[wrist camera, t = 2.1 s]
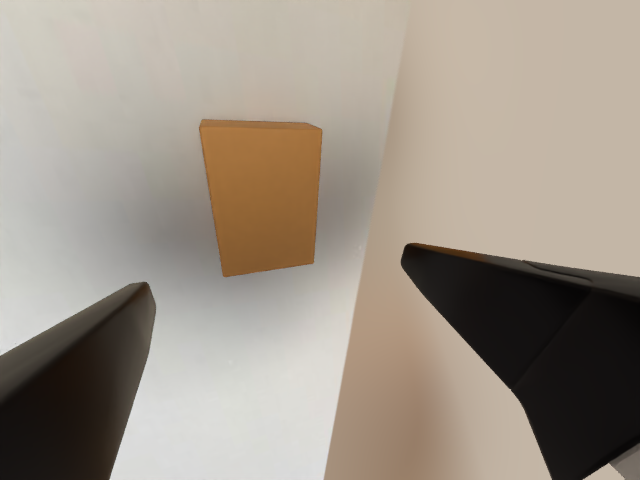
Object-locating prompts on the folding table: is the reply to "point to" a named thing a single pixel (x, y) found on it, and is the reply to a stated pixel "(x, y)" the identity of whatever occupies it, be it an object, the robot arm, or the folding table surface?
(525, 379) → the robot arm
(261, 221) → the block
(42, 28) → the folding table surface
